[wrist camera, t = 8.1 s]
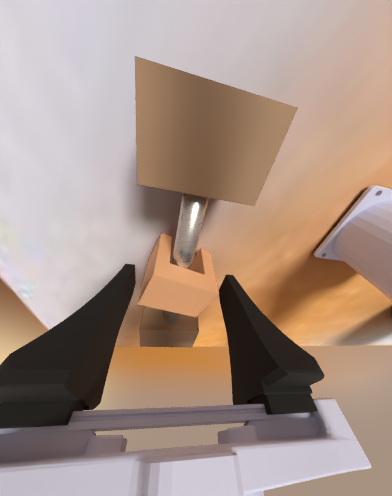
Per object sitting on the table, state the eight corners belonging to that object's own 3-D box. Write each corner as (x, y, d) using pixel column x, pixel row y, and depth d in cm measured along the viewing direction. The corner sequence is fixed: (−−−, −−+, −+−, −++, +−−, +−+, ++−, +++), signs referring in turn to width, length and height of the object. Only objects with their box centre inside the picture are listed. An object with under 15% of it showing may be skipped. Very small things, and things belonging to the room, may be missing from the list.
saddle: (209, 251, 15) (219, 293, 12) (193, 274, 17) (196, 317, 13) (161, 232, 14) (153, 274, 10) (148, 259, 16) (137, 304, 12)
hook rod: (218, 149, 9) (224, 152, 7) (176, 319, 19) (175, 332, 18) (189, 142, 8) (190, 144, 7) (163, 318, 19) (161, 332, 18)
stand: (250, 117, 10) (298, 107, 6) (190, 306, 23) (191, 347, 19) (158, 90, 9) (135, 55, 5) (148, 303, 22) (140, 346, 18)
